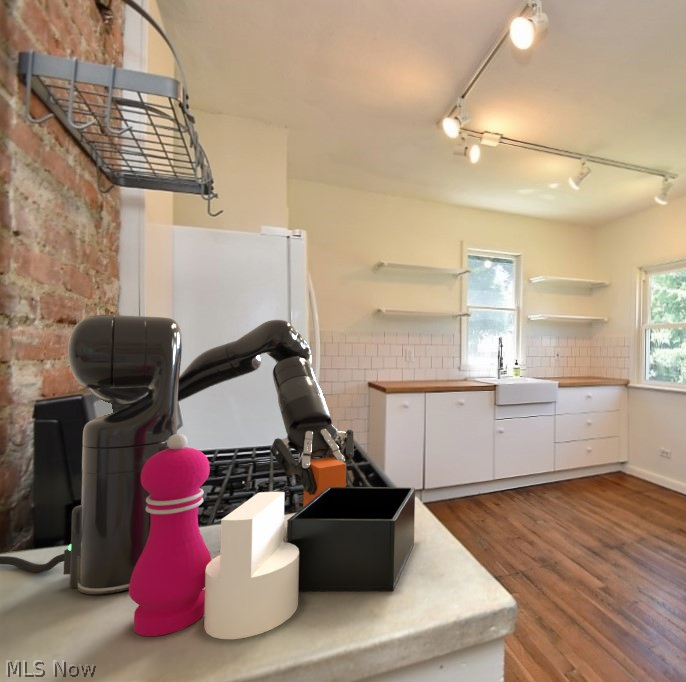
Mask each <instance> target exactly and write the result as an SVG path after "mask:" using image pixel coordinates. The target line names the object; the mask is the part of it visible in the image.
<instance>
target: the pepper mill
mask: <svg viewBox="0 0 686 682" xmlns="http://www.w3.org/2000/svg"><path fill="white" fill-rule="evenodd" d="M188 441H189V440H188V438H187V436H186V435H185V434H183V433H177V434H175V435H172V436H171V437H170V438H169V439H168V441H167V445H168V447H169V448H170V449H166V450H163V451H160V452H158V453H156V454H155V455H153V456H152V457H151V458H149V459H148V460H147V462H146V463H145V464H144V466H143V469H142V472H141V484H142V486H143V487H144V489H145V490H147V491H148V492H149V493H150V496H148V497H147V498H146V502H147V507H146V511H147V512H148V513H150V516H151V526H150V533H149V537H148V540H147V543H146V545H145V548H144V550H143V552H142V554H141V556H140V558H139V560H138V562H137V564H136V566H135V568H134V570H133V573H132V576H131V579H130V586H129V590H128V595H129V597H130V600H131V601H133V602H134V603H135V604H137V605H138V606H137V607H136V608H135V610H134V614H133V630H134V632H135V633H136V634H137V635H139V636H143V637H158V636H165V635H170V634H172V633H175V632H179V631H181V630H183V629H185V628H187V627H189V626H191V625H193V624H195V623H196V622H197V621H199V620H200V619H201V618H202V617H204V613H205V571H206V566H207V565H208V564H209V562H210V561H211V560H213V558H212V556H211V553H210V550H209V549H208V547H207V545H206V543H205V541H204V538H203V537H202V533H201V531H200V526H199V516H198V515H199V506H201V505H202V504H203V503H204V498H203V495H204V493H205V492H204V490H203V489H202V488H201V486H202V485H204V483H205V482H206V481H207V480H208V479H209V476H210V470H211V468H210V461H209V459H208V456H207V455H206V454H204V453H203V452H202V451H201V450H200V449H197V448H193V447H187V445H188Z"/></svg>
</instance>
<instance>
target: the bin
mask: <svg viewBox="0 0 686 682" xmlns="http://www.w3.org/2000/svg"><path fill="white" fill-rule="evenodd" d="M415 512H416V487H405V486H404V487H401V486H400V487H393V486H392V487H391V486H390V487H387V486H386V487H385V486H382V487H381V486H374V487H373V486H346V487H328V488H326V489H325V490H324V491H323V492H322V493H320V494H319V495H318V496H317V497H315V498H314V499H313V500H312V501H310V502H309V503H308V504H307V505H306V506H304V507H303V506H302V507H301V508H300V509H298V511H296V512H295V513H294V514H293V515H292V516H290V518H288V519H287V520H286V521H287V522H286V523H287V524H286V542H287V543H291V544H293V545H295V546H296V547H297V548H298V549H299V579H298V592H394V591H395V588H396V586H397V584H398V582H399V580H400V578H401V575H402V573H403V571H404V569H405V566H406V564H407V561H408V559H409V557H410V554H411V552H412V550H413V548H414V546H415V520H416V519H415V518H416V517H415V515H416V513H415Z"/></svg>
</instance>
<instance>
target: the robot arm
mask: <svg viewBox="0 0 686 682" xmlns="http://www.w3.org/2000/svg"><path fill="white" fill-rule="evenodd" d="M182 337H183V336H182V330H181V328H180V326H179V323H178V322H177V321H176V320H175V319H174V318H170V317H163V316H142V315H121V314H115V315H114V314H97V315H90V316H87V317H85V318H83V319H81V320H80V321H78V323H76V324H75V326H74V328H73V329H72V331H71V333H70V335H69V339H68V343H67V361H68V365H69V368H70V371H71V373H72V376H73V377H74V379H75V381H77V383H78V384H79V385H80V386H82V387H84V388H87V389H88V390H89V391H90V393H91V394H92V395H93V396H94V395H95V396H96V397H97V398H99V399H101V400H103V401H105V402H108V403H111V404H112V409H113V413H111V414H108V415H104V416H101V415H100V416H98V417H95V418H93V419H91V420H89V421H88V422H87V423H85V425H84V427H83V431H82V453H81V454H82V455H81V490H80V492H81V493H80V505H77V506H74V508H73V509H72V511H71V535H70V544H69V545H68V548H66V549H64V550H63V553H61V554H59V555H56V556H54V557H53V558H51V559H50V560H49V561H48V562H46V563H40V564H39V563H34V562H31V561H28V560H26V559H24V558H20V557H16V556H9V555H0V565H7V566H12V567H16V568H18V569H19V568H20V569H21V570H24V571H27V572H30V573H43V572H47V571H50V570H52V569H53V568H54V567H56V566H57V565H58V564H61V563H63V575H69V588H75V589H76V588H77V590H78V591H79V592H80V593H82V594H86V595H105V594H113V593H120V592H125V591H129V586H130V579H131V576H132V573H133V570H134V568H135V566H136V564H137V562H138V560H139V558H140V556H141V554H142V552H143V550H144V548H145V545H146V543H147V540H148V537H149V533H150V526H151V516H150V513H148V512H147V511H146V507H147V502H146V498H147V497H148V496H150V493H149V492H148V491H147V490H145V489H144V487H143V486H142V484H141V472H142V469H143V466H144V464H145V463H146V462H147V460H148V459H149V458H151V457H152V456H153V455H155V454H156V453H158V452H160V451H163V450H166V449H170V448H169V447H168V445H167V441H168V439H169V438H170V437H171V436H172V435H175V434H178V403H180V402H182V401H184V400H186V399H189V398H191V397H192V396H195V395H196V394H199V393H200V392H203V391H204V390H208V389H210V388H212V387H214V386H216V385H219V384H222V383H224V382H227V381H230V380H233V379H236V378H239V377H243V376H245V375H249V374H251V373H253V372H255V371H257V370H258V369H259V368H260V366H261V364H262V356H261V355H263V354H267V355H268V356H269V357H270V358H272V359H273V361H275V363H276V364H275V365H274V367H273V369H272V380H273V383H274V386H275V390H276V393H277V400H278V401H277V403H278V407H279V411H280V414H281V418H282V422H283V426H284V429H285V432H286V434H287V435H286V437H285V438H279V437H277V438H275V439H274V440H273V442H272V445H271V446H270V453H271V454H272V456H273V457H274V458H275V460H276V461H277V462H278V464H279V466H280V467H281V468H282V470H283V471H284V473H285V474H286V475H287V476H292V475H298V476H299V478H300V480H301V483H302V487H303V491H304V490H305V491H306V492H309V495H312V494H315V492H316V490H317V484H316V481H315V477H314V474H313V471H312V468H310V467H309V466H310V460H311V458H313V457H315V456H320V457H321V456H322V458H324V457H332V458H334V459H337V460H339V461H341V462H343V463H346V466H348V465H349V464H350V463H351V460H352V459H353V458H354V455H355V450H354V430H352V429H347V430H346V431H338V429H337V428H336V427H335V426H334V425H333V421H332V417H331V413H330V411H329V408H328V405H327V402H326V398H325V396H324V394H323V391H322V389H321V387H320V385H319V383H318V381H317V378H316V375H315V373H314V370H313V367H312V366H313V365H312V364H313V363H312V361H313V360H312V352H311V349H310V346H309V344H308V342H307V340H306V339H305V337H303V335H301V334H300V332H299V331H298V330H297V329H296V328H295V327H294V326H293V325H292V324H291V323H290V322H288V321H287V320H283V319H271V320H267V321H264V322H262V323H261V324H260V325H258V326H256V327H255V328H253V329H252V330H250V331H249V332H247V333H246V334H244V335H243V336H241V337H240V338H238V339H237V340H234V341H233V340H232V341H230V342H227V343H224V344H221V345H218V346H215V347H212V348H210V349H207V350H205V351H204V352H202V353H201V354H199V355H198V356H197V357H195V358H194V359H193V360H192V361H191V362H190V364H189V365H187V367H185V369H184V370H183V371H182V373H180V372H181V362H182V353H183V352H182V350H183V338H182ZM336 439H337V440H338V443H339V445H340V446H341V447H342V450H341V451H340V447H339V446H338V444H337V443H336ZM289 448H291V449H293V450H294V451H296V452H297V453H298V460H296V459H295V457H294V456H293V454H292V453H291V451H290V450H289ZM349 481H350V474H349V471H348V468H347V467H346V485H348V482H349Z"/></svg>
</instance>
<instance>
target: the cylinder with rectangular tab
mask: <svg viewBox="0 0 686 682" xmlns="http://www.w3.org/2000/svg"><path fill="white" fill-rule="evenodd" d="M284 531H285V491H264V492H263V491H261V492H257V493H256V494H254V495H253V496H252V497H250V498H249V499H248V500H246V501H245V502H243V503H242V504H241V505H240V506H238V507H237V508H235V509H234V510H232V511H231V512H230V513H228V514H227V515H225V516H224V517H223V518H221V520H220V553H219V555H218V554H217V556H216V557H214V558H212V560H211V561H210V562H209V564H208V565H207V566H206V571H205V587H204V591H205V613H204V614H203V617H204V619H203V620H204V621H203V628H204V631H205V633H206V634H207V635H209V636H210V637H212V638H215V639H219V640H239V639H247V638H251V637H254V636H257V635H261V634H263V633H266V632H268V631H271V630H273V629H275V628H277V627H279V626H280V625H282V624H283V623H285V622H286V621H288V620H289V619H291V617H292V616H293V615H294V614H295V612H296V611H297V609H298V606H299V591H298V579H299V549H298V548H297V547H296V546H295V545H293V544H291V543H287V541H285V542H284V540H285V539H284V535H285V534H284V533H285V532H284Z"/></svg>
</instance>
